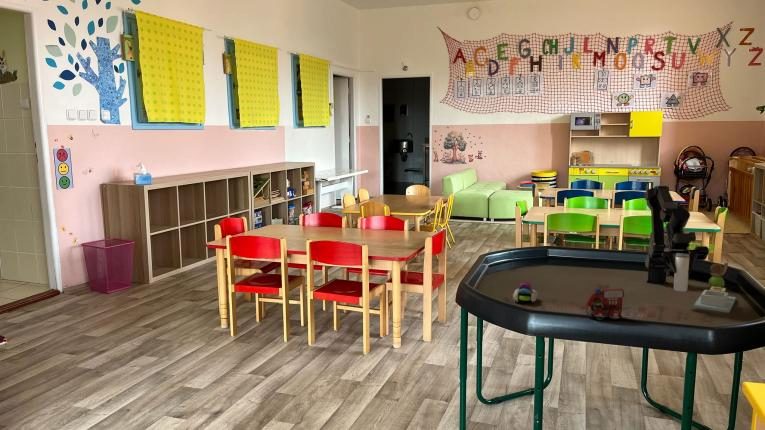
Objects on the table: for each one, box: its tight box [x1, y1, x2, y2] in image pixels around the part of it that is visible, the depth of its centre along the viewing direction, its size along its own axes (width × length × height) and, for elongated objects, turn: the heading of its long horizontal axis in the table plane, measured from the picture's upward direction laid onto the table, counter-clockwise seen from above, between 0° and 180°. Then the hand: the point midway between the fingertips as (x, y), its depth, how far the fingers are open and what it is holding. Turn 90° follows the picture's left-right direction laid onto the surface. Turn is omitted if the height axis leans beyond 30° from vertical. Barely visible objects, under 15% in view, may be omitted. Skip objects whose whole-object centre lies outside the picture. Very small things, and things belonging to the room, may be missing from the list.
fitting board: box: [693, 287, 737, 314], centre depth 219 cm, size 11×18×4 cm, turn 144°
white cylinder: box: [673, 253, 690, 292], centre depth 214 cm, size 4×4×13 cm
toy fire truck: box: [585, 288, 625, 318], centre depth 206 cm, size 7×12×10 cm, turn 87°
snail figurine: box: [708, 259, 730, 288], centre depth 236 cm, size 5×6×12 cm
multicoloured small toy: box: [512, 281, 538, 302], centre depth 226 cm, size 8×10×7 cm
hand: (682, 272), depth 213 cm, fingers closed on white cylinder, 4 cm apart
